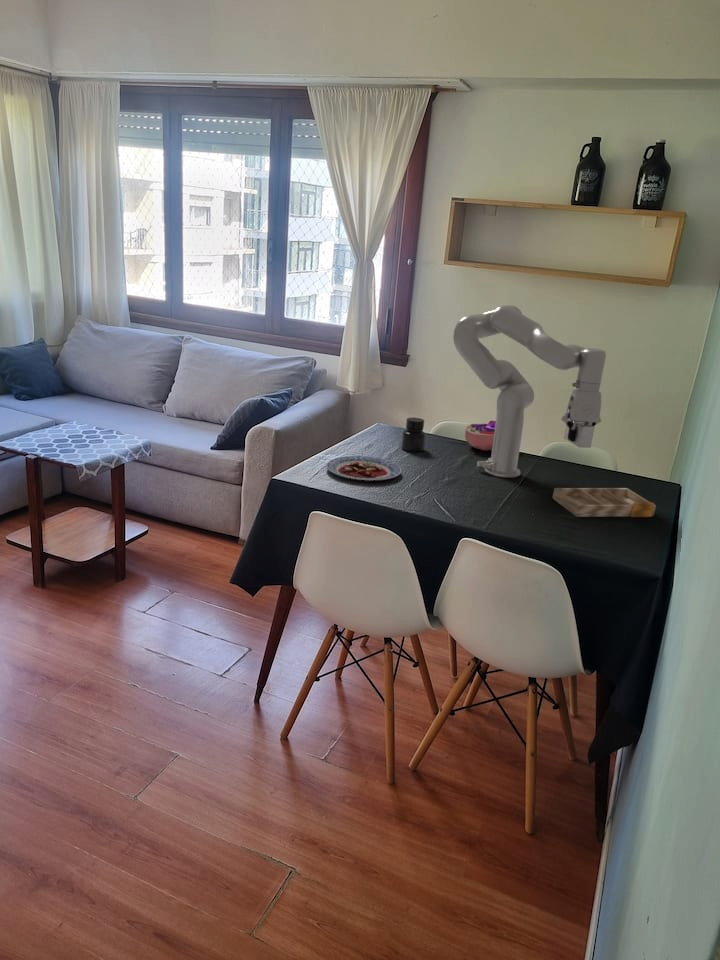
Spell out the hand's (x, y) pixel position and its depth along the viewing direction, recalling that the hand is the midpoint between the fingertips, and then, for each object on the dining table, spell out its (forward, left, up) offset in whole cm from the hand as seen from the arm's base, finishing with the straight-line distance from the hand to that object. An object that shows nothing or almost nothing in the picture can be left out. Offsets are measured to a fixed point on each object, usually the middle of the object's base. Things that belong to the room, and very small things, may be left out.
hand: (577, 440), depth 225 cm
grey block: (0, 0, -1) cm, 1 cm away
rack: (+2, -18, -17) cm, 25 cm away
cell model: (-13, +46, -17) cm, 51 cm away
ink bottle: (-44, +44, -17) cm, 64 cm away
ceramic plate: (-69, +15, -17) cm, 73 cm away
